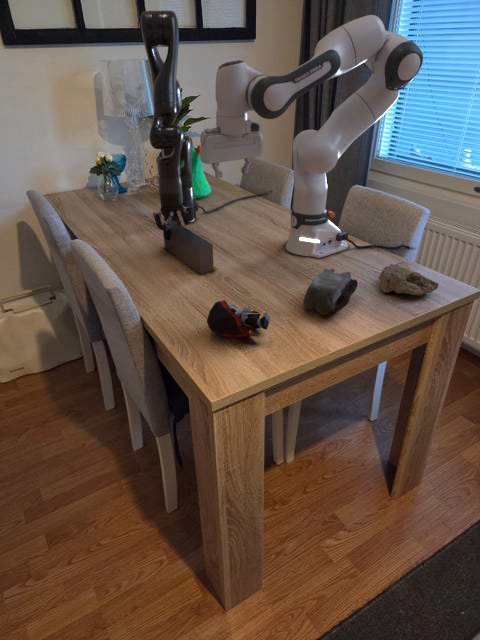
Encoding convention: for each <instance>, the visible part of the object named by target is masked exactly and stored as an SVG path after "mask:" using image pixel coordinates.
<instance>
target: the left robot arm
mask: <svg viewBox="0 0 480 640" xmlns="http://www.w3.org/2000/svg"><path fill="white" fill-rule="evenodd" d="M139 23H140V31H141V35H142V41H143V44H144V49H145V53H146V57H147V61H148V66H149V72H150V76H151V77H150V78H151V83H152V98H153V99H152V100H153V116H152V122H151V126H150V130H149V136H148V139H149V143H150V145H151V147H152V148H153V149H155V150H162V153H163V156H161V157H159V158H158V159H157V170H158V171H157V172H158V191H159V199H160V201H159V202H160V210H159V211H157V212H156V211H154V212H153V213H152V216H153V219H154V222H155V225H156V228H158V229H159V230H160V231H162V233H163V239H164V238H165V239H166V240H167V241H169V240H170V238H169V231H168V229H169V225H170V224H171V222H177V223H178V224H180V225H182V226H183V227H185V228H186V226H188V225H190V224H192V223H194V222H195V221H196V220H197V212H198V211H199V209H201V210H202V211H203V212H204V213H205V214H209V213H213V212H216V211H217V210H220V209H222V208H224V207H226V206H227V205H229V204H231V203H234V202H237V201H241V200H245V199H249V198H254V197H260V196H265V195H268V194H269V193H270V192H273V190H272V191H268V190H267V191H266V192H263V193H259V194H252V195H248V196H243V197H239V198H235V199H232V200H230V201H228V202H225V203H224V204H222V205H221V206H218V207H216V208H214V209H212V210H210V211H207V210H205V208H204V206H201V205H199V203H198V202H196V199H195V197H194V196H193V181H192V147H191V140H190V138H191V137H190V136H189V135H185V134H184V130H183V129H182V128H181V126H180V125H177V124H174V123H175V121H176V119H177V117H178V116H179V113H180V112H181V109H182V106H183V98H182V90H181V85H180V82H179V81H178V79H177V73H178V62H179V61H178V60H179V45H180V44H179V43H180V29H179V21H178V17H177V14H176V12H175V11H173V10H144V11H142V12H141V14H140V22H139ZM158 48H167V53H166V58H165V60H163V59H162V57H161V55H160V52H159V50H158ZM180 161H183V165H182V166H180ZM162 216H163V219H162Z"/></svg>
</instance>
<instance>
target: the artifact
mask: <svg viewBox="0 0 480 640" xmlns="http://www.w3.org/2000/svg"><path fill="white" fill-rule="evenodd" d="M378 279H379V281H380V282H379V286H380V290H382V292H383V293H384V294H388V293H390V292H395V294H407V295H412V296H422V295H424V294H431V293H432V292H434V291H435V290H438V287H439V282H436V281H434V280H432V279H430V278H429V277H427V276H424V275H422V274H421V273H420V272H417V271H415V270H414V269H412V268H411V267H410V266H409V265H407V264H406V263H405V262H404V261H399V262H397V263H395V264H392V263H390V264H389V265H386V266H385V267H384V268H382V270H381V272H380V274H379V276H378Z"/></svg>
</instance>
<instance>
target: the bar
mask: <svg viewBox="0 0 480 640" xmlns="http://www.w3.org/2000/svg"><path fill="white" fill-rule="evenodd" d="M168 231H169V238H170V240H169V241H167V240H166V239H165V238H164V237H163V241H164V242H163V243H164V249H165V250H166V251H167V252H169V253H171V254H172V255H173V256H175V257H176V258H177V259H179V260H180V261H182V263H184V264H186V265H187V266H189V267H190V268H191V269H193V270H194V271H195V272H197V273H198V274H200V275H203V274H204V275H205V274H207V273H210V272H211V273H212V272H214V244H213V243H211V242H209V241H208V240H206V239H204V238H203V237H202V236H200V235H198V234H196V233H195V232H193V231H192V230H190V229H188V228H187V227H186V226H185V227H183V226H182V225H180V224H178V223H177V222H172V221H171V224H170V225H169V229H168Z"/></svg>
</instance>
